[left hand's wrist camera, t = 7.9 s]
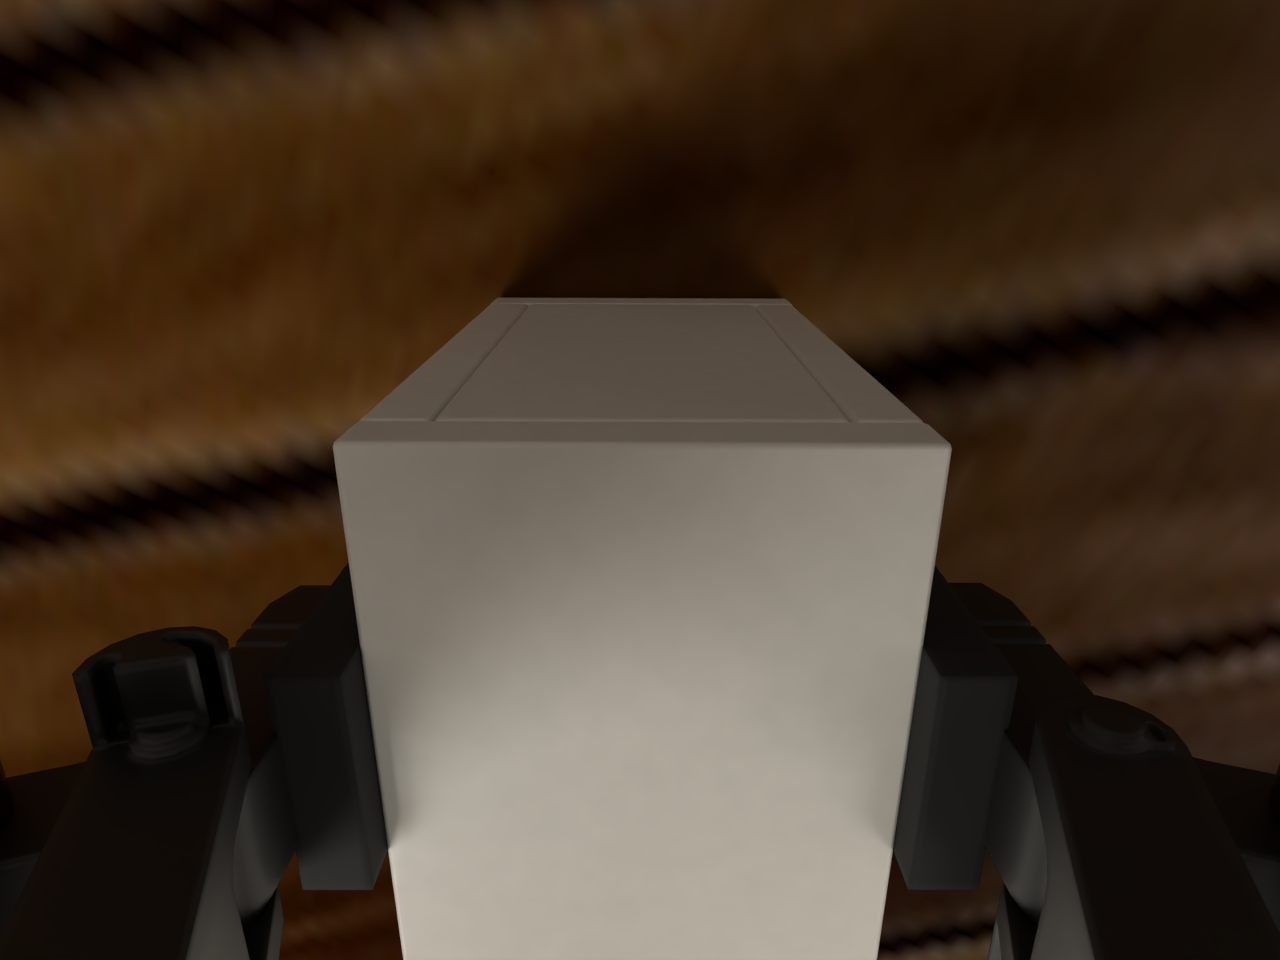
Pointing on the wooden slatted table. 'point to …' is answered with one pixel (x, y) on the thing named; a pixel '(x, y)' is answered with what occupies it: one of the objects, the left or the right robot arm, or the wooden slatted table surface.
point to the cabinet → (641, 631)
